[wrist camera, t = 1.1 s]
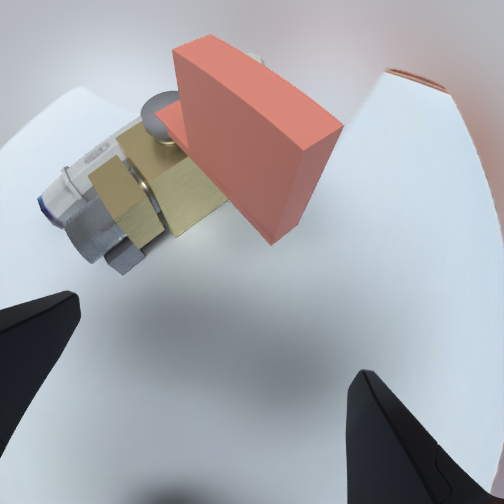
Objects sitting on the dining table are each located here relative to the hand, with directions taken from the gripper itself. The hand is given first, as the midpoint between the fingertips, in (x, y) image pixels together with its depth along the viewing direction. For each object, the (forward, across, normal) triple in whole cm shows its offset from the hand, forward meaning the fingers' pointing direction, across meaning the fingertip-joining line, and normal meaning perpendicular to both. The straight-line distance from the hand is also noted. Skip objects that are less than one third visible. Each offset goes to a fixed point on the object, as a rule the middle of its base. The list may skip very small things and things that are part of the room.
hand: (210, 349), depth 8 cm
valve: (+17, +6, +1) cm, 18 cm away
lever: (+9, +3, -4) cm, 10 cm away
